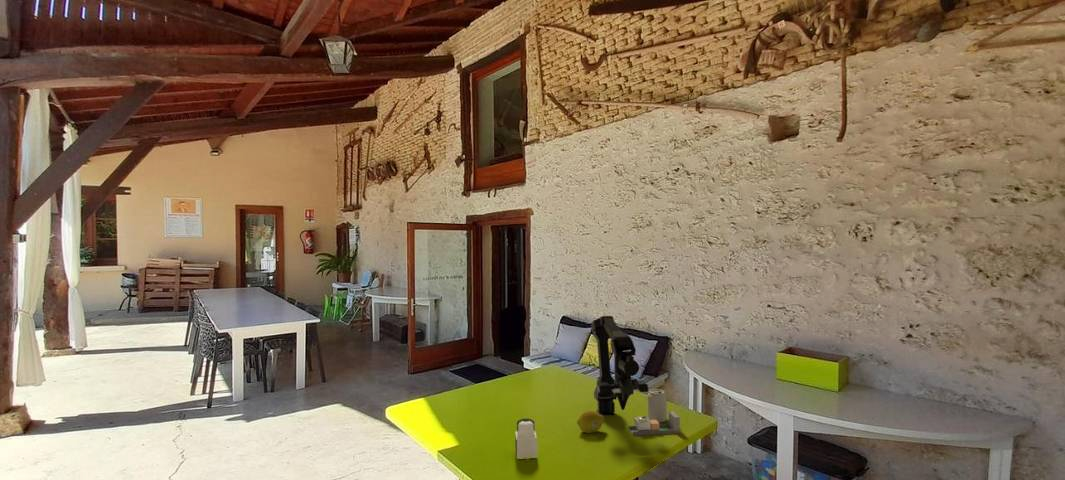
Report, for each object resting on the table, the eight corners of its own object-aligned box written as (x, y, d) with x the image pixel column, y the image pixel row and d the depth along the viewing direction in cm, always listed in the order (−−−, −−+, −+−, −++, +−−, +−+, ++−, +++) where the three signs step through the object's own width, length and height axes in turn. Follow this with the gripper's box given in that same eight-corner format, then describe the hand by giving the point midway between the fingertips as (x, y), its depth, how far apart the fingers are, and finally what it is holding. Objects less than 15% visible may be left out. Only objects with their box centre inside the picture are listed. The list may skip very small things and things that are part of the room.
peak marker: (651, 433, 180) (651, 423, 180) (648, 428, 184) (648, 419, 184) (659, 432, 181) (659, 423, 181) (656, 428, 185) (655, 419, 185)
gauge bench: (633, 436, 179) (633, 419, 179) (628, 429, 185) (628, 413, 185) (679, 433, 180) (679, 417, 180) (673, 427, 186) (673, 411, 186)
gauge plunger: (637, 433, 180) (637, 419, 180) (634, 429, 184) (634, 415, 184) (650, 433, 180) (650, 419, 180) (647, 428, 185) (646, 415, 185)
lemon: (578, 436, 179) (577, 415, 179) (575, 428, 187) (575, 408, 187) (606, 435, 180) (606, 414, 180) (603, 427, 187) (602, 407, 187)
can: (667, 424, 189) (667, 394, 190) (648, 423, 191) (647, 393, 191) (666, 417, 197) (665, 388, 197) (647, 416, 198) (647, 387, 198)
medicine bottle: (515, 451, 168) (514, 417, 168) (535, 450, 168) (535, 416, 168) (516, 460, 161) (515, 424, 161) (537, 459, 161) (536, 423, 161)
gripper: (602, 375, 173) (603, 418, 173) (652, 373, 174) (653, 416, 174) (596, 367, 184) (597, 407, 184) (643, 365, 186) (644, 405, 186)
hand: (622, 409), depth 182 cm, fingers closed
